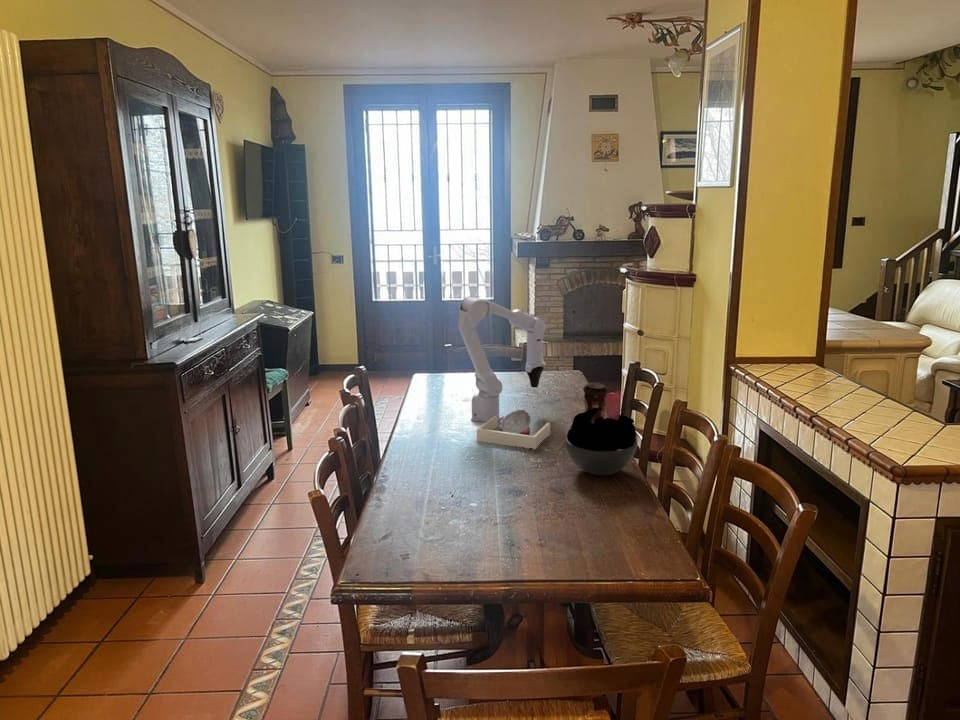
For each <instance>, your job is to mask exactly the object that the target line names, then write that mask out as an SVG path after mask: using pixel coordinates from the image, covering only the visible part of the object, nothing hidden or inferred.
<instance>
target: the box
mask: <svg viewBox="0 0 960 720" xmlns="http://www.w3.org/2000/svg"><path fill="white" fill-rule="evenodd" d="M496 428H498V421H497V416H493V417H492V418H491V419H490V420H488V421H487V422H484V423H483V424H481V425H480V426H479V427H477V429H476V442H480V441H481V442H480V443H487V442H488V443H489V444H494V443H495V445H501V446H502V445H503V446H510V447H515V446H516V447H515V448H522V447H524V449H529V448H533V449H532V450H536V449H538V447H539V446H540V445H541V444H542V443H543V442H544V441H545V440H546V439H547V438H548V437H549V436H550V435H551V422H549V421H548V422H546V423H545V424H544V425H543V426H542V427H541V428H540V429H539V430H538V431H537V432H536V433H535V434H534V435H531V434H530V435H523V434H516V433H508V432H501V431H500V430H495V429H496ZM547 436H548V437H547ZM546 437H547V438H546ZM545 438H546V439H545ZM544 439H545V440H544ZM543 440H544V441H543ZM542 441H543V442H542ZM541 442H542V443H541ZM488 443H487V444H488ZM540 443H541V444H540ZM539 444H540V445H539ZM538 445H539V446H538ZM537 446H538V447H537Z"/></svg>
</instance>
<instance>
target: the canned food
mask: <svg viewBox="0 0 960 720" xmlns="http://www.w3.org/2000/svg"><path fill="white" fill-rule="evenodd" d="M530 424H531V416H530V414H529V412H528V411H526V410H524V409H518V410H514V411H512V412H510V413H508V414H506V416H504V417H503V418H501V422H500V424H499V425H500V428H499V431H501V432H508V433H516V434H523V435H530V436H531V428H530Z"/></svg>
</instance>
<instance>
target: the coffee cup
mask: <svg viewBox="0 0 960 720" xmlns="http://www.w3.org/2000/svg"><path fill="white" fill-rule="evenodd" d="M582 390H583V392H584V396H583V397H584V398H583V399H584V400H583V401H584V412H586V411H588V410H589V409H592V408H601V409H600V410H599V411H598V412H597V413H596V414H594V415H593V416H592V417H591V422H592V423H594V421H595V420H596V419H597V418H598V417H601V418H603V419H605V414H606V413H605V412H606V404H607V397H608V396H607V395H608V393H609V390H608V388H607V386H606V385H605V384H603V383H600V382H588V383H586V384H585V385H584V387H583V389H582Z"/></svg>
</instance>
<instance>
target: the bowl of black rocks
mask: <svg viewBox="0 0 960 720" xmlns="http://www.w3.org/2000/svg"><path fill="white" fill-rule="evenodd" d="M600 409H601V408H592V409H589V410H588V411H586V412H585V411H583V412H580V413H578V414H576V415H575V416H574V417H573V421H572V424H571V425H570V429H568V430H567V434H566V435H565V439H564V441H565V447H566V450H567V451H566V452H567V453H568V455H569V457H570V459H571V461H572V462H573V463H574V464H575V465H576V466H577V467H578V468H579V469H581V470H583V471H584V472H586V473H589V474H590V475H591V474H593V475H596V476H608V475H612V474H616V473H618V472H620V471H621V470H622V469H624V468H626V467H627V466H628V465H629V464H630V462H631V460H633V458H634V456H635V454H636V451H637V448H638V440H637V432H636V427H635V425H634V423H635V421H634V419H633V418H631V417H629V416H627V415H623V414H620V415H619V416H618V419H615V418H611V417H606V418H604V419H603V418H601V417H598V418H597V419H596V420H595V421H594V423H592V422H591V417H592V416H593V415H594V414H596V413H597V412H598V411H599V410H600Z"/></svg>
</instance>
